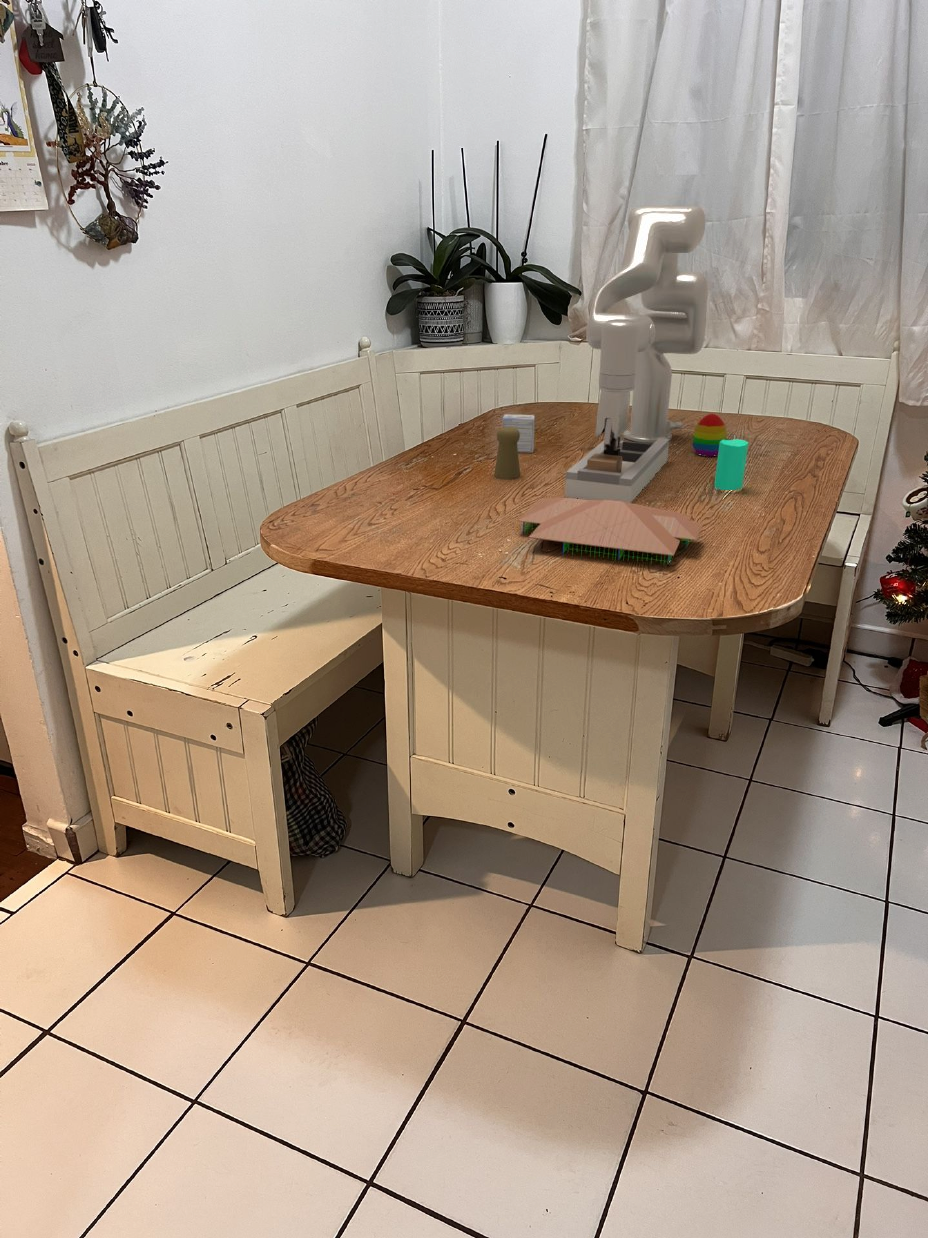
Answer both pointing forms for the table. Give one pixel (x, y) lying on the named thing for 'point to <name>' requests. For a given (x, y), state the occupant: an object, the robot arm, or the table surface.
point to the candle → (731, 464)
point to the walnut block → (605, 463)
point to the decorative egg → (709, 435)
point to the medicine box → (522, 430)
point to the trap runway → (623, 486)
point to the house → (610, 525)
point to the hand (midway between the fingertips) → (610, 466)
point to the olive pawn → (507, 454)
